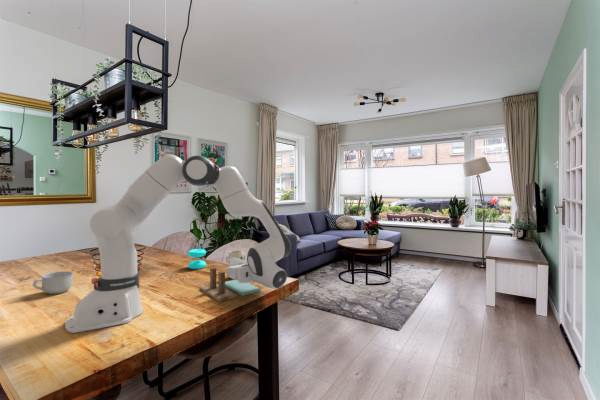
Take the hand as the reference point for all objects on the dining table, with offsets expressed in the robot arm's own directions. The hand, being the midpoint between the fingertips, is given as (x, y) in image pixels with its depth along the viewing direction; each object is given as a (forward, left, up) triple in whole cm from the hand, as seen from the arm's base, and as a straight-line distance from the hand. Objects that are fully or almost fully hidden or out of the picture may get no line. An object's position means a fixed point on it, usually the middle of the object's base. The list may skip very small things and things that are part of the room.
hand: (241, 265), depth 133 cm
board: (0, +1, -10) cm, 10 cm away
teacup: (-65, +48, -11) cm, 82 cm away
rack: (-11, +1, -10) cm, 15 cm away
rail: (0, +1, -2) cm, 2 cm away
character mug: (+7, +18, -11) cm, 22 cm away
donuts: (-1, +50, -11) cm, 51 cm away
